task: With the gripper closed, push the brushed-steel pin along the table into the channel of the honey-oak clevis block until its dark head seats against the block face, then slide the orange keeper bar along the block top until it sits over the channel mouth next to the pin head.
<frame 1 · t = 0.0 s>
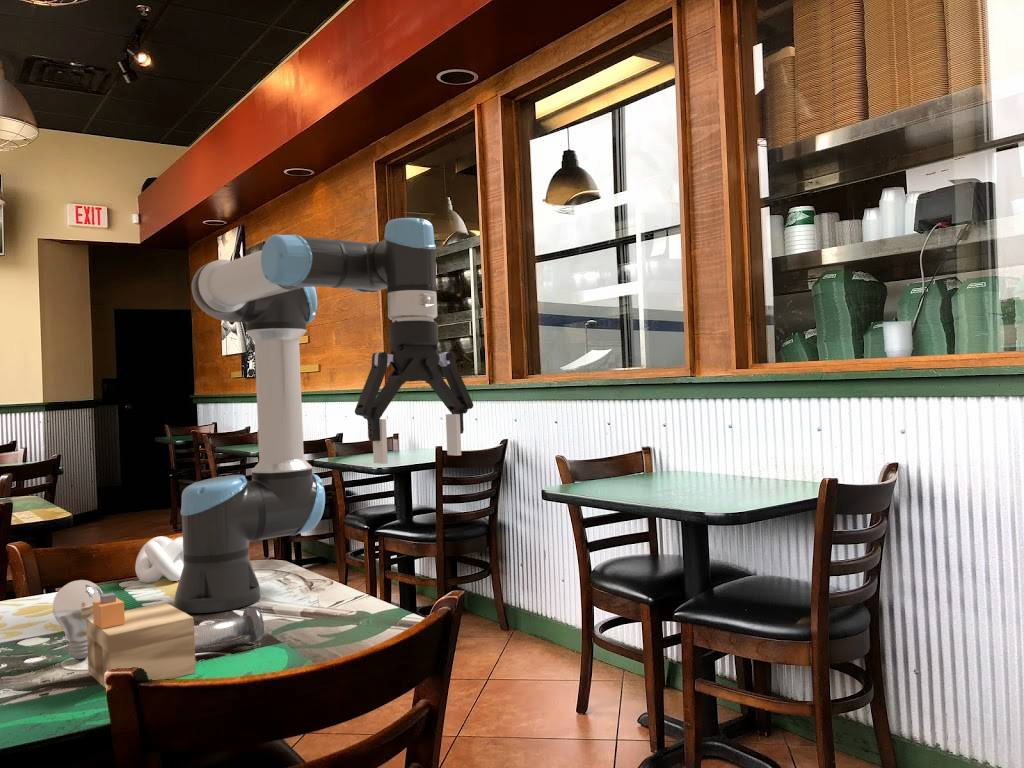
hand: (418, 459, 124), 28 cm above the table, fingers open, 13 cm apart
light bulb: (81, 661, 122), on the table
keeper bar: (108, 609, 113), point 10 cm above the table, slide at 0.0 cm
white knot sculpture: (162, 581, 174), on the table
pin: (214, 632, 122), point 3 cm above the table, slide at 0.0 cm
clevis block: (141, 672, 115), on the table
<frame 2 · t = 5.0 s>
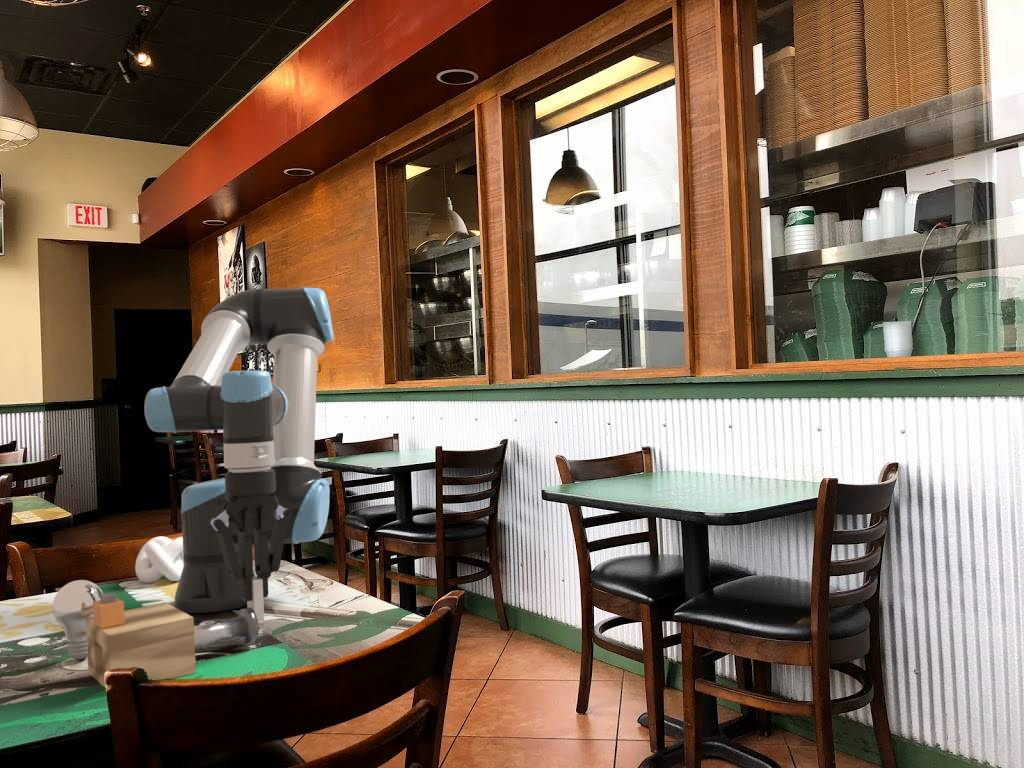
hand: (256, 620, 127), 4 cm above the table, fingers closed
pin: (209, 634, 122), point 3 cm above the table, slide at 0.9 cm, touching gripper
everything else where it was.
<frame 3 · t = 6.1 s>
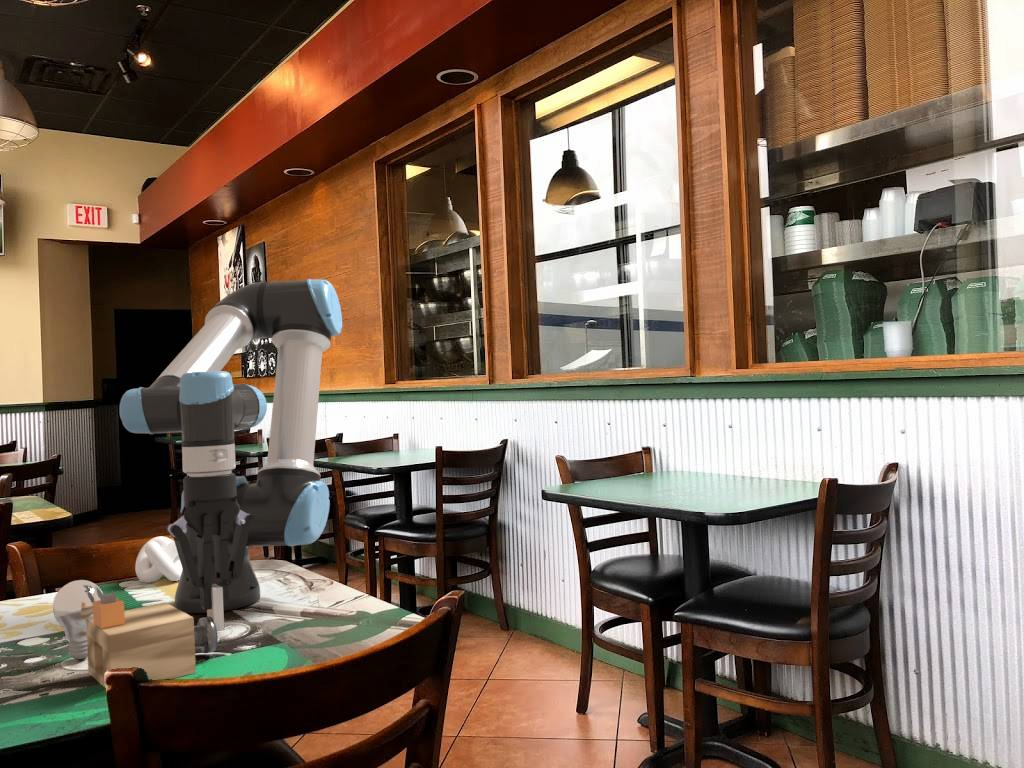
hand: (215, 629, 122), 4 cm above the table, fingers closed
pin: (165, 644, 118), point 3 cm above the table, slide at 7.2 cm, touching gripper
everything else where it was.
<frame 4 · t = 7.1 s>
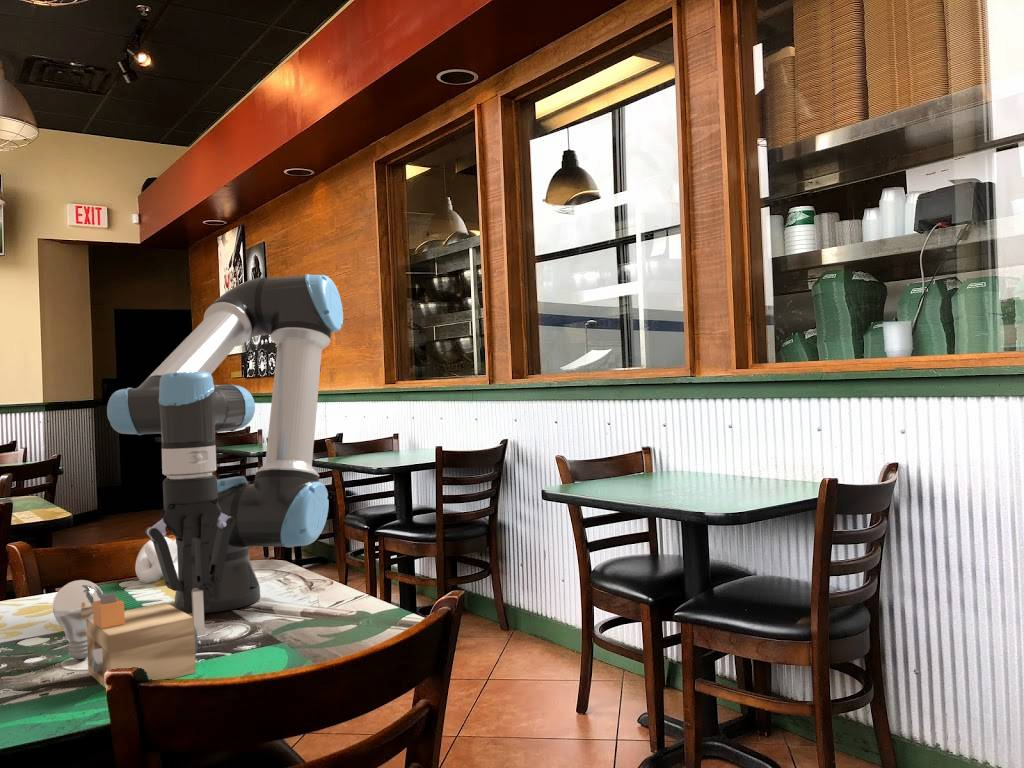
hand: (196, 633, 121), 4 cm above the table, fingers closed
pin: (144, 649, 116), point 3 cm above the table, slide at 10.1 cm, touching gripper
everything else where it was.
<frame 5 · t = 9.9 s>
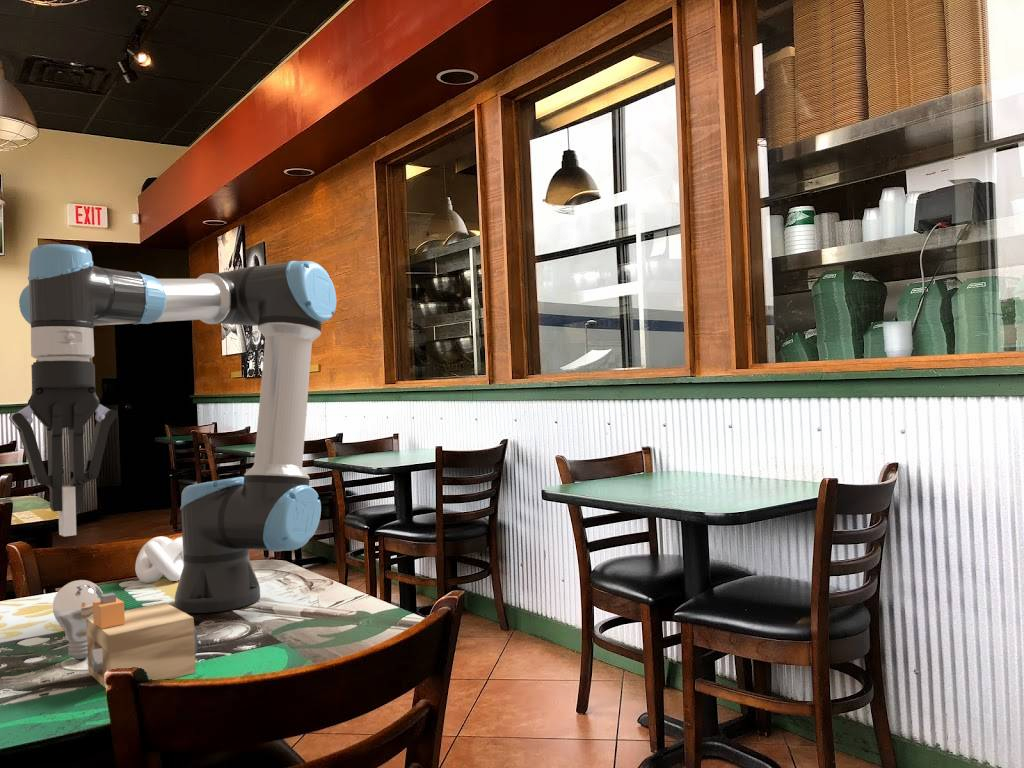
hand: (67, 534, 109), 21 cm above the table, fingers closed
pin: (144, 649, 116), point 3 cm above the table, slide at 10.1 cm
everything else where it was.
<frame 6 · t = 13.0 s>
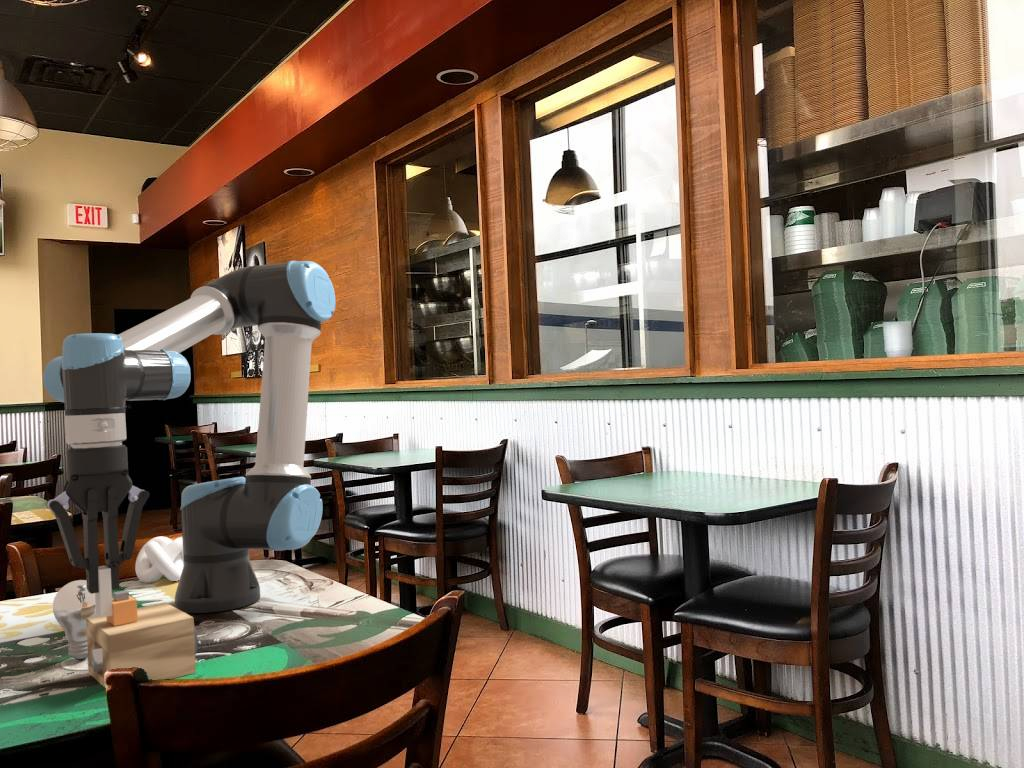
hand: (104, 614, 113), 9 cm above the table, fingers closed
keeper bar: (121, 606, 114), point 10 cm above the table, slide at 1.7 cm, touching gripper
everything else where it was.
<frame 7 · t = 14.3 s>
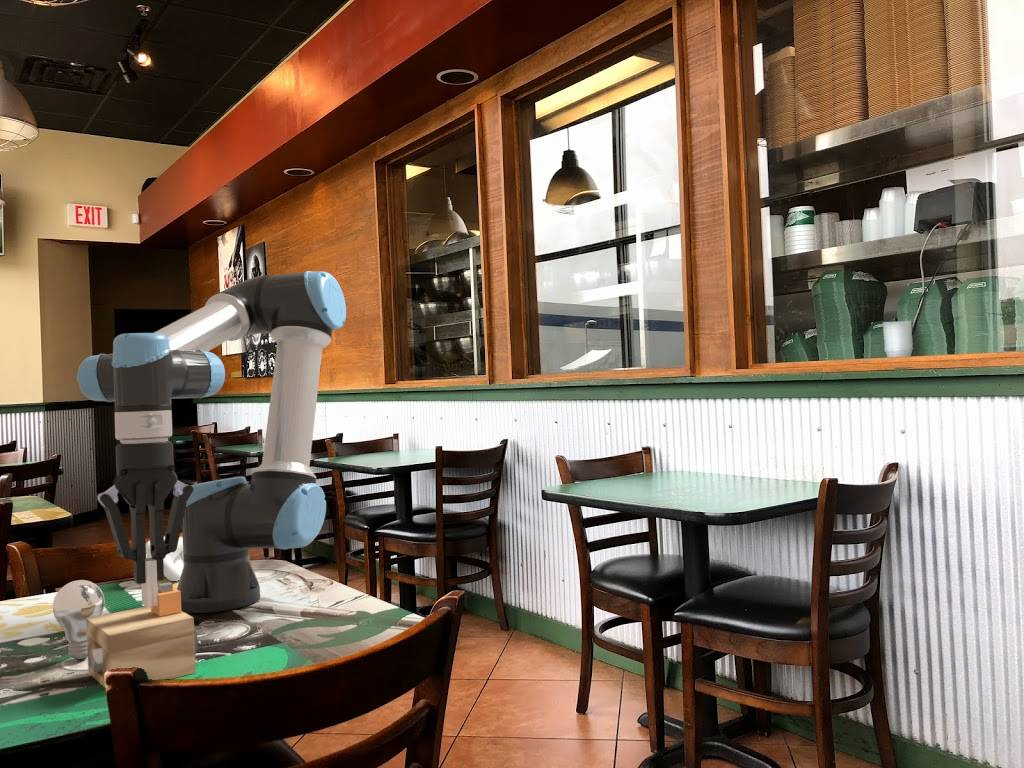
hand: (150, 604, 116), 9 cm above the table, fingers closed
keeper bar: (165, 597, 118), point 10 cm above the table, slide at 7.7 cm, touching gripper
everything else where it was.
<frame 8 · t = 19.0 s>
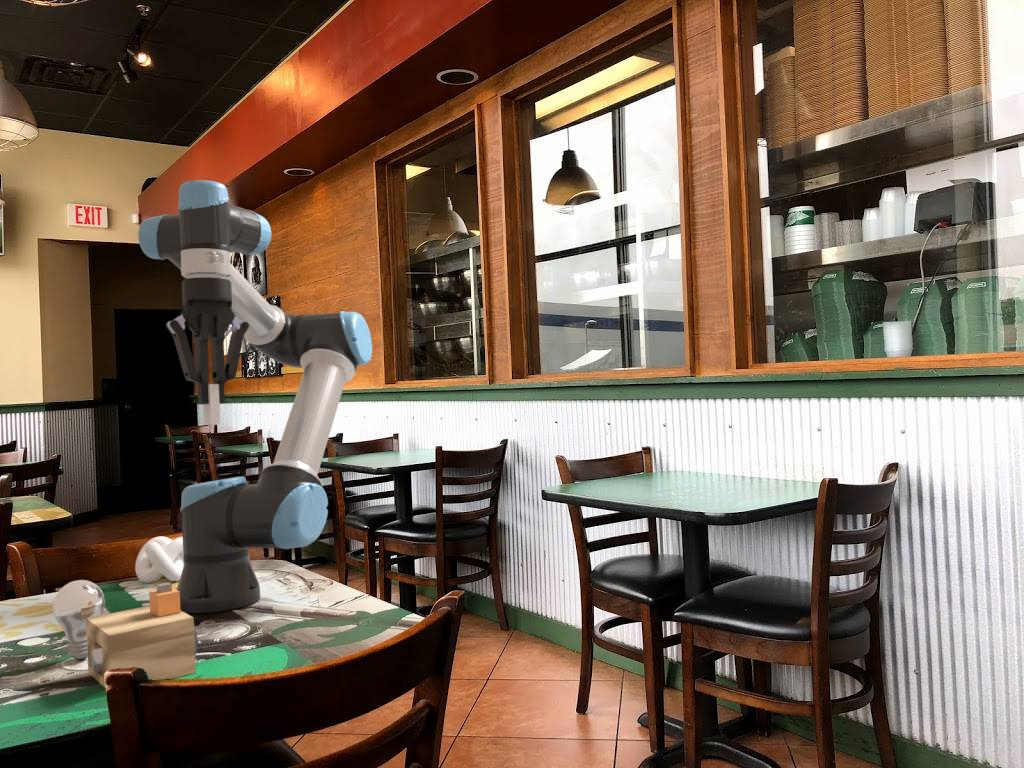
hand: (212, 424, 131), 34 cm above the table, fingers closed
keeper bar: (164, 598, 118), point 10 cm above the table, slide at 7.5 cm
everything else where it was.
at the end: pin slide at 10.1 cm; keeper bar slide at 7.5 cm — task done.
